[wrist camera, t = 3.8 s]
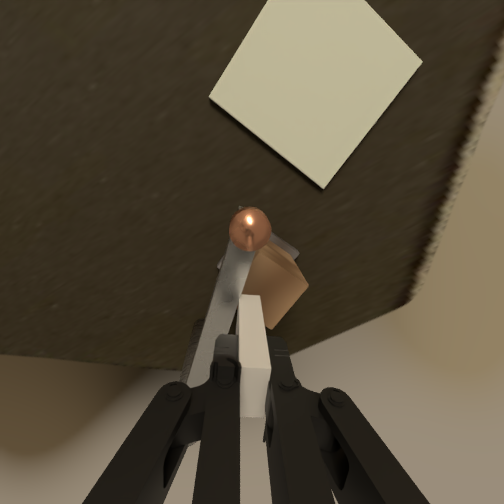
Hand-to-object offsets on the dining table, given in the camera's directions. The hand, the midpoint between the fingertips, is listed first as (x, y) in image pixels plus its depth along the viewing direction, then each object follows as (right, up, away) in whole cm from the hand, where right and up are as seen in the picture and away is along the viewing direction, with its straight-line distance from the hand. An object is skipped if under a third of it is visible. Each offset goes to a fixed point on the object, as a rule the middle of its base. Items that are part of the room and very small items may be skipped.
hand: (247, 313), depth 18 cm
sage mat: (+6, +20, +8) cm, 22 cm away
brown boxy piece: (+1, +4, +13) cm, 13 cm away
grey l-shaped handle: (-3, +2, +13) cm, 13 cm away
